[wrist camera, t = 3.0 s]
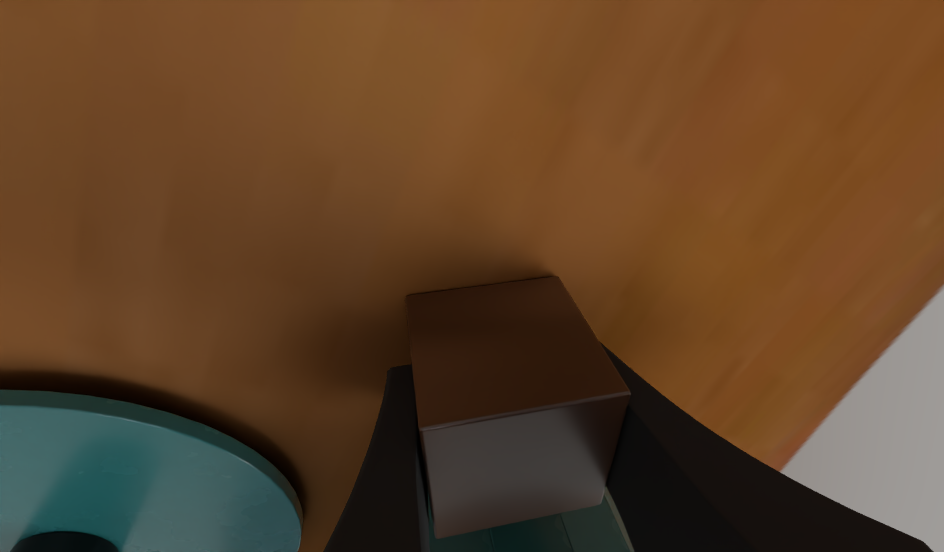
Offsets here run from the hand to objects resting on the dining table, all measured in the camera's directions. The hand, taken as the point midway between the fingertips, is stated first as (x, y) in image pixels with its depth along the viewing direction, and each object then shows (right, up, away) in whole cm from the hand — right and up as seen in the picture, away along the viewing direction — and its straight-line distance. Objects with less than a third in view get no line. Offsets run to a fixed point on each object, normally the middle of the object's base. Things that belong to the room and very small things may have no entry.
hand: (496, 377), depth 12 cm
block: (0, +1, +1) cm, 1 cm away
